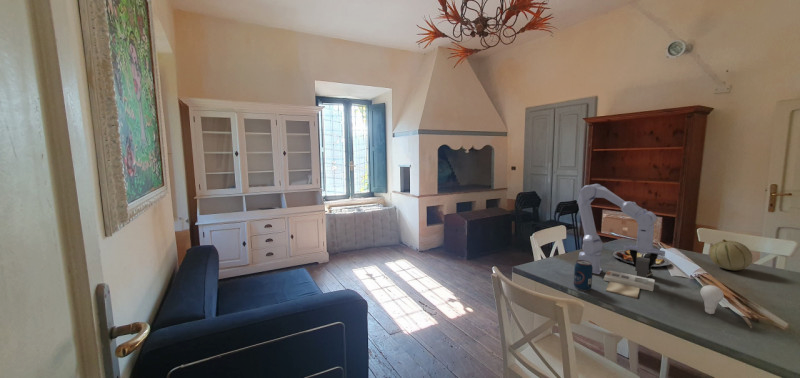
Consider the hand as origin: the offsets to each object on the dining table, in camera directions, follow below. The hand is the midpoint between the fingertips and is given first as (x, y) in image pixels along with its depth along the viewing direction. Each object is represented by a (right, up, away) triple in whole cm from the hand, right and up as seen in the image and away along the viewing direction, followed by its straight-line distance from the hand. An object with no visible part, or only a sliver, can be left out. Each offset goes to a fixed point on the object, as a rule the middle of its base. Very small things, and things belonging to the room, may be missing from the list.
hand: (642, 268), depth 141 cm
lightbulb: (+6, -11, -24) cm, 28 cm away
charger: (0, -3, 0) cm, 3 cm away
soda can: (-28, -9, -1) cm, 29 cm away
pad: (-12, -9, -4) cm, 15 cm away
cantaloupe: (+56, -5, +16) cm, 59 cm away
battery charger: (+10, -7, +10) cm, 15 cm away
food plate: (+22, -4, +31) cm, 38 cm away
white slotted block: (-3, -8, +4) cm, 9 cm away
